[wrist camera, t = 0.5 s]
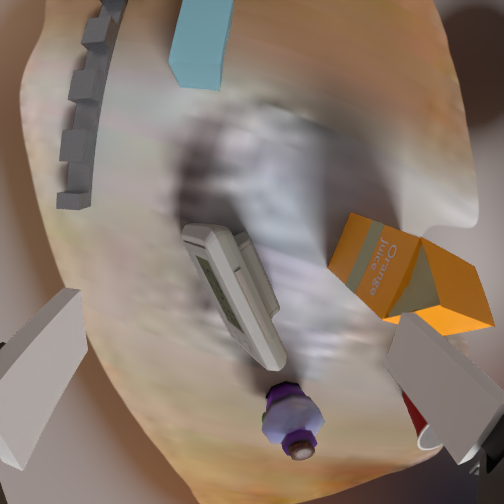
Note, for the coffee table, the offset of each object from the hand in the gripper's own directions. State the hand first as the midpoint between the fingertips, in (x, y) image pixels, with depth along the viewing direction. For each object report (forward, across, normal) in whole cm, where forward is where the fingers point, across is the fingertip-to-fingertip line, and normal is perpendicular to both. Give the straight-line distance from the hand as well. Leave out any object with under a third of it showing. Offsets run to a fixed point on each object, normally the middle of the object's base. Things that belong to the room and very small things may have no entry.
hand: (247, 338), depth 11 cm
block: (+25, -5, +19) cm, 32 cm away
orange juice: (+25, +18, -2) cm, 31 cm away
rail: (+25, -18, +14) cm, 34 cm away
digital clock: (+25, +1, -7) cm, 26 cm away
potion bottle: (+25, +11, -25) cm, 36 cm away
